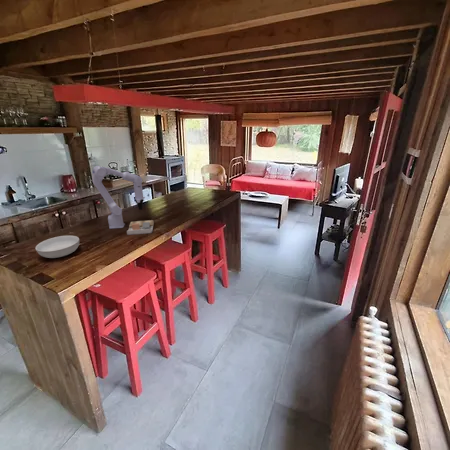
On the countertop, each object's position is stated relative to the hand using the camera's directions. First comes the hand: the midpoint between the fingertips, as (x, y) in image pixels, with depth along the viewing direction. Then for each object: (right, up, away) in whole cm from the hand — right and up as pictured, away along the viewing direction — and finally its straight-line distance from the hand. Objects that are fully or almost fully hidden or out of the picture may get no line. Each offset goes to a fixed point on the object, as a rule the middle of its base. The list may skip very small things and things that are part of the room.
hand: (140, 209), depth 191 cm
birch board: (+3, -13, -8) cm, 15 cm away
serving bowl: (-30, -28, -47) cm, 62 cm away
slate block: (+9, -13, -13) cm, 21 cm away
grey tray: (+5, -16, -17) cm, 24 cm away
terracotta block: (+2, -13, -15) cm, 20 cm away
